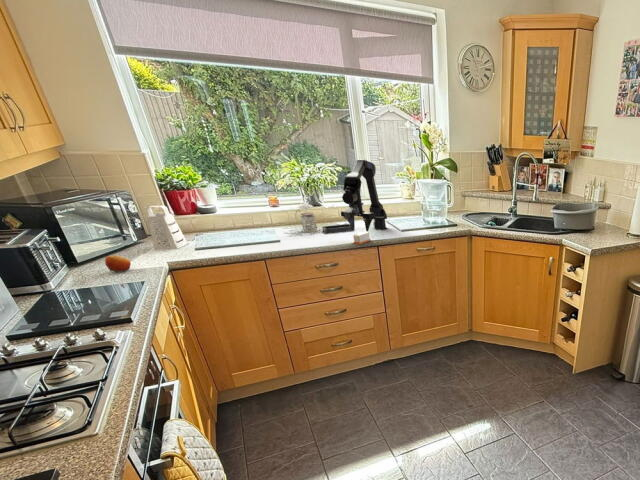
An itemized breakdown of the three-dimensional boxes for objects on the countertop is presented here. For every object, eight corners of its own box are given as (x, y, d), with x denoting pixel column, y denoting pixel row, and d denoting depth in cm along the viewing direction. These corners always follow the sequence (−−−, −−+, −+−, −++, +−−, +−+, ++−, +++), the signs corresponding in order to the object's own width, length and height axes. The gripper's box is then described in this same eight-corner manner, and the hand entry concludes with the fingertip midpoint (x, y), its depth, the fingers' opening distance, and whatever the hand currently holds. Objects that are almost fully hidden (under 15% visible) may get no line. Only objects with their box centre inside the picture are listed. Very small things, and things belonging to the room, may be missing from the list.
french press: (321, 230, 251) (312, 187, 239) (300, 233, 245) (290, 188, 233) (317, 227, 258) (308, 185, 246) (297, 229, 253) (287, 186, 240)
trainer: (364, 239, 236) (363, 231, 233) (370, 240, 234) (369, 232, 232) (353, 243, 228) (352, 235, 226) (359, 244, 227) (358, 236, 224)
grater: (177, 248, 211) (162, 208, 201) (154, 249, 209) (137, 208, 199) (187, 243, 220) (173, 204, 210) (166, 243, 218) (150, 204, 208)
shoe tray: (349, 227, 260) (349, 223, 259) (353, 230, 254) (353, 226, 253) (322, 230, 252) (322, 226, 251) (326, 233, 246) (325, 229, 245)
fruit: (98, 270, 174) (102, 252, 175) (120, 274, 182) (124, 257, 182) (110, 272, 172) (114, 254, 172) (132, 277, 180) (136, 259, 180)
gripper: (331, 201, 217) (336, 231, 224) (360, 204, 211) (365, 235, 219) (345, 198, 226) (350, 227, 233) (374, 201, 220) (377, 231, 228)
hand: (360, 230), depth 228 cm, fingers open, 9 cm apart
